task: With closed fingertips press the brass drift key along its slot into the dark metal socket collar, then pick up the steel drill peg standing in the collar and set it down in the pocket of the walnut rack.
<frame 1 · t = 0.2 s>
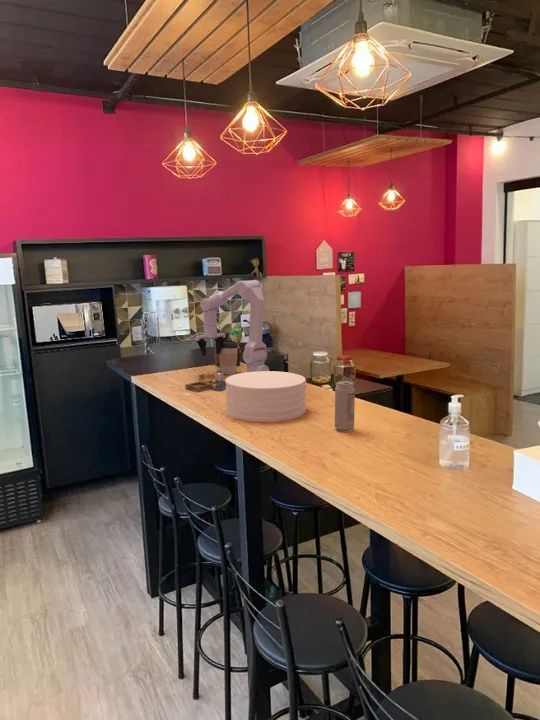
hand: (211, 354, 253), 10 cm above the table, tool pointing down, fingers open, 7 cm apart
socket collar: (219, 386, 234), on the table
rack: (199, 389, 230), on the table
energy drink can: (344, 430, 174), on the table
coffee cup: (228, 373, 261), on the table, touching gripper
drift key: (205, 379, 239), point 2 cm above the table, slide at 0.0 cm
plate stack: (265, 411, 197), on the table
drill peg: (219, 386, 234), resting in socket collar
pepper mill: (228, 366, 279), on the table
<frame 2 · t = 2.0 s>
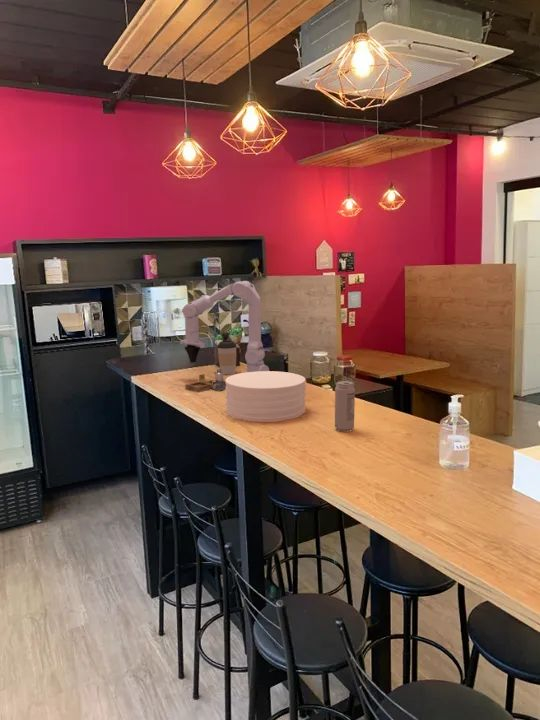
hand: (193, 362, 244), 8 cm above the table, tool pointing down, fingers closed
coffee cup: (228, 373, 261), on the table
everything else where it was.
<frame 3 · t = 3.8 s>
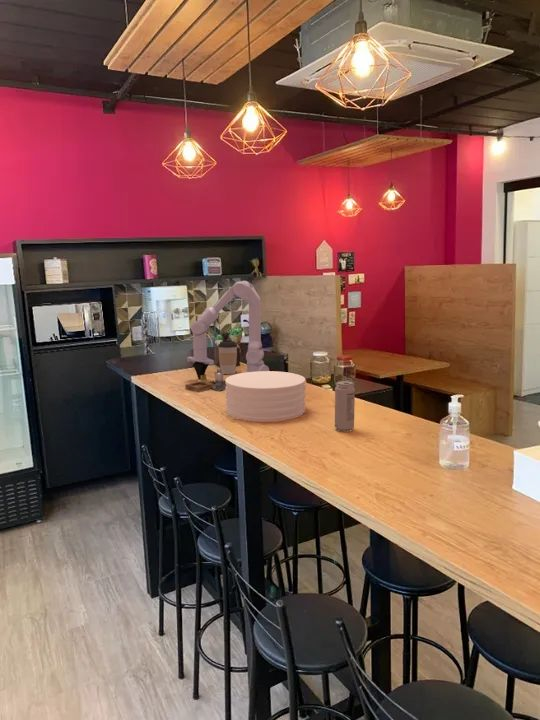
hand: (201, 379, 242), 1 cm above the table, tool pointing down, fingers closed
drift key: (207, 379, 238), point 2 cm above the table, slide at 1.2 cm, touching gripper
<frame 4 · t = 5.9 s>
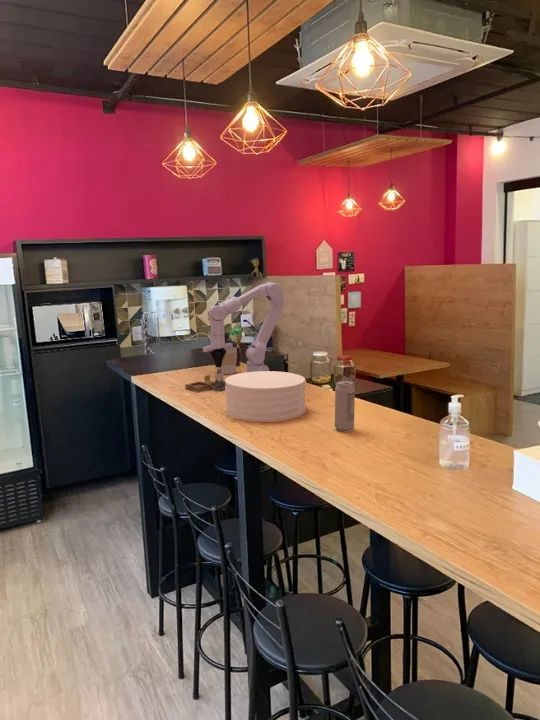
hand: (218, 366, 232), 8 cm above the table, tool pointing down, fingers closed
drift key: (211, 380, 237), point 2 cm above the table, slide at 3.6 cm
everything else where it was.
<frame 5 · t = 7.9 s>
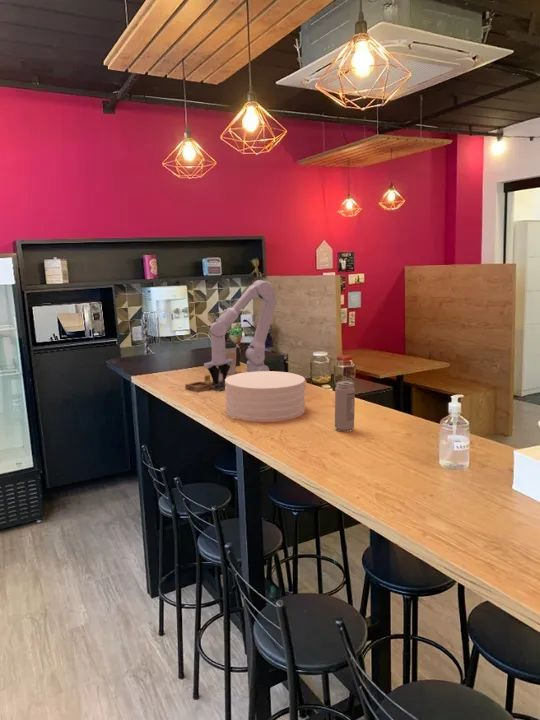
hand: (219, 382, 233), 2 cm above the table, tool pointing down, fingers closed on drill peg, 3 cm apart
drill peg: (219, 386, 234), resting in socket collar, touching gripper
everything else where it was.
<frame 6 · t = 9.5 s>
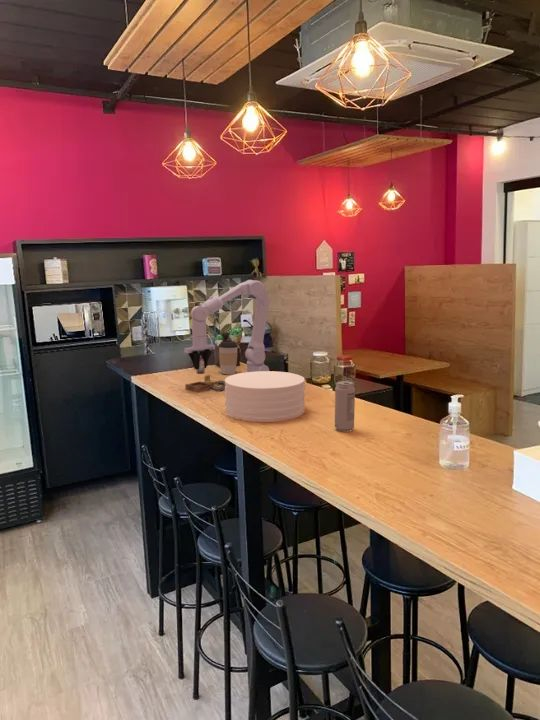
hand: (200, 368, 228), 9 cm above the table, tool pointing down, fingers closed on drill peg, 3 cm apart
drill peg: (200, 373, 229), point 7 cm above the table, touching gripper
when the fingers open (3 cm above the table, at t = 10.9 s): drill peg stays where it is, resting on rack.
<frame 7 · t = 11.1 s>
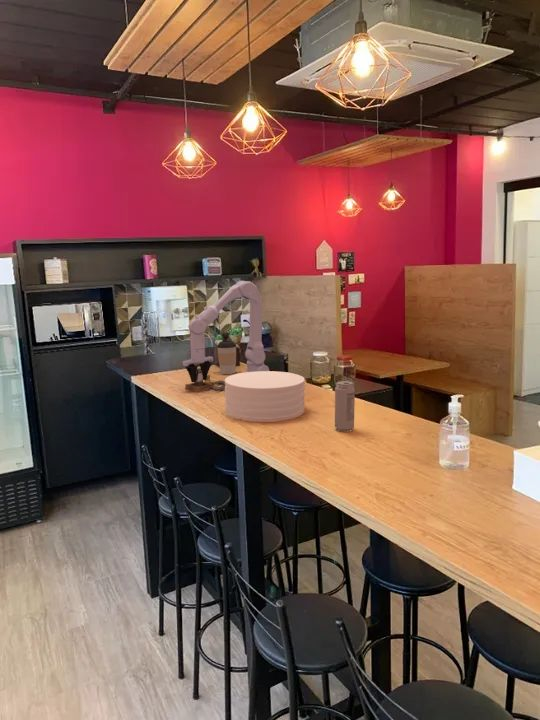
hand: (198, 380, 229), 3 cm above the table, tool pointing down, fingers open, 5 cm apart
drill peg: (199, 386, 229), point 1 cm above the table, touching rack
everything else where it was.
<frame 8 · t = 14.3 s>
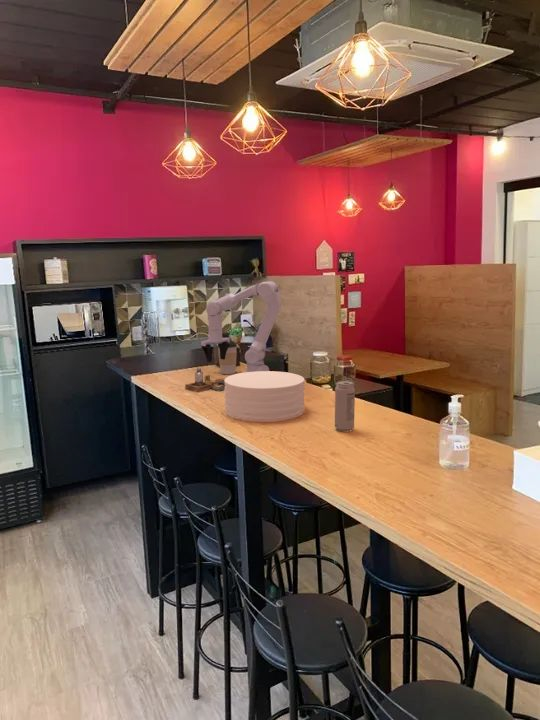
hand: (216, 360, 241), 9 cm above the table, tool pointing down, fingers open, 7 cm apart
nothing on the table moved.
at the end: drift key slide at 3.6 cm; drill peg 0.0 cm off-centre on the rack, point 1.0 cm above the rack's base; drill peg tilted 1° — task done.
